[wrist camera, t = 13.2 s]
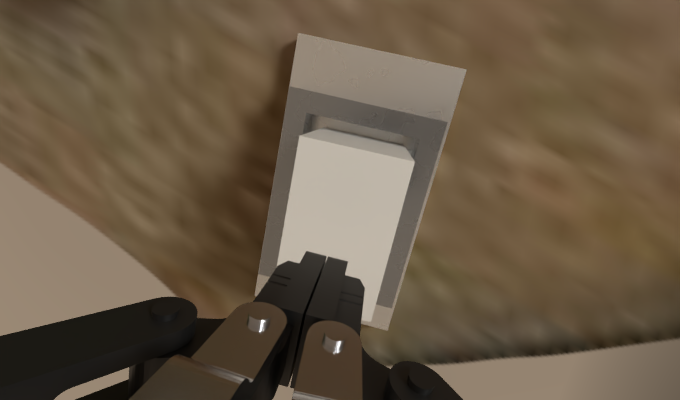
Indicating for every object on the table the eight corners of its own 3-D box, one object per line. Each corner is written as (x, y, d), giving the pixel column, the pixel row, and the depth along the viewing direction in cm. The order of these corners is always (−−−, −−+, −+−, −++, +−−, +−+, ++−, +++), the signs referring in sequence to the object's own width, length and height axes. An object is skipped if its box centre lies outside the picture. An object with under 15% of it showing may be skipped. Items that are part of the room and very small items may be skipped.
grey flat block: (461, 71, 21) (476, 65, 17) (387, 320, 26) (388, 349, 22) (302, 36, 21) (289, 24, 18) (260, 287, 26) (244, 311, 23)
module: (404, 144, 21) (415, 161, 14) (373, 260, 23) (371, 322, 16) (324, 126, 21) (299, 135, 14) (302, 242, 23) (271, 297, 17)
